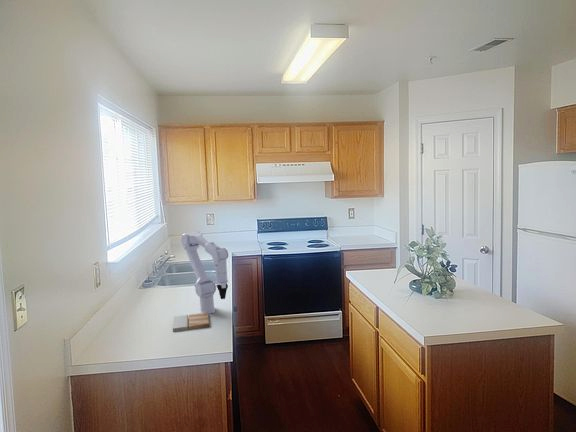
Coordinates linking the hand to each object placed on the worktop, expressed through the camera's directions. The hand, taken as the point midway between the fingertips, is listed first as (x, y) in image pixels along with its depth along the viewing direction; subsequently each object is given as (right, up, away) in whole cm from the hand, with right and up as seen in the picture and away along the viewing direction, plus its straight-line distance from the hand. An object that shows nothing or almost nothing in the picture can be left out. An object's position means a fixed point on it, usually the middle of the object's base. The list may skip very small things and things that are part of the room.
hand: (222, 298), depth 218 cm
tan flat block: (-11, -10, -6) cm, 16 cm away
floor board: (-20, -11, -8) cm, 24 cm away
